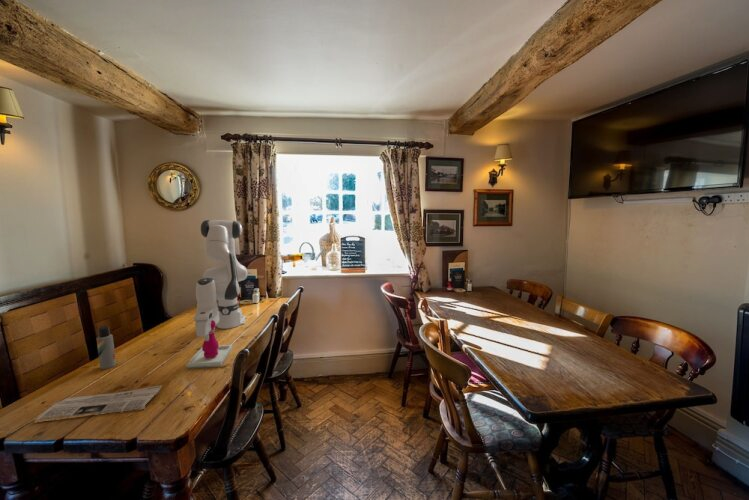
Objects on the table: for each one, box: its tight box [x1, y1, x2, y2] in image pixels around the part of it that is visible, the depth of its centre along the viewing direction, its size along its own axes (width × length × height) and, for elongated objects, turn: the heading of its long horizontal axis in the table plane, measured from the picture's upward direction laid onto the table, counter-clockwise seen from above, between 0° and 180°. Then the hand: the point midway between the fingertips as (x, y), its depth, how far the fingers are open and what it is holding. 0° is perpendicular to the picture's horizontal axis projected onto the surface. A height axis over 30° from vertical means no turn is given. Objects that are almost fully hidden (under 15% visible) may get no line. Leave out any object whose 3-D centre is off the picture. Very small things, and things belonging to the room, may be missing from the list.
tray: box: [186, 344, 233, 370], centre depth 148 cm, size 18×15×2 cm
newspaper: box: [34, 384, 163, 422], centre depth 113 cm, size 35×12×4 cm, turn 103°
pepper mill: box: [201, 320, 220, 358], centre depth 147 cm, size 7×7×20 cm
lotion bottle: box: [96, 325, 117, 370], centre depth 139 cm, size 6×6×20 cm
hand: (209, 337), depth 147 cm, fingers closed on pepper mill, 5 cm apart
